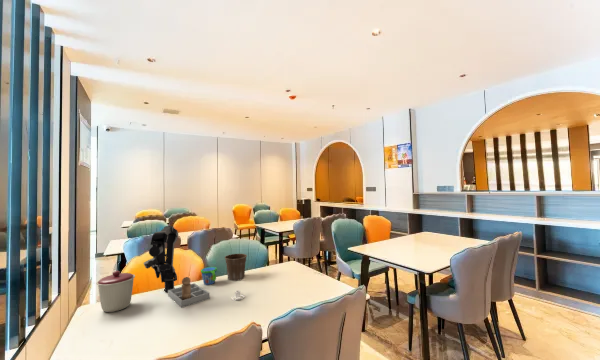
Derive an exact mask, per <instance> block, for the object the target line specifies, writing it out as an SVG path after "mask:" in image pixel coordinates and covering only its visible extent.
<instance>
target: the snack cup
mask: <svg viewBox="0 0 600 360" xmlns="http://www.w3.org/2000/svg"><path fill="white" fill-rule="evenodd" d="M217 270H218V268H217V267H216V266H208V267H204V268H202V269H201V270H200V273H201V277H202V281H203V284H204V285H206V286H207V285H208V286H210V285H212V284H215V283H216V280H217V277H216V275H217Z"/></svg>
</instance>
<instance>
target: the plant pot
mask: <svg viewBox="0 0 600 360" xmlns="http://www.w3.org/2000/svg"><path fill="white" fill-rule="evenodd" d="M247 257H248V255H247V254H245V253H232V254H228V255H226V256H224V260H225V265H226V273H227V275H226V276H227V280H228V281H229V280H230V281H239V280H240V279H241V280H242V279H244V278H245V276H246V275H245V274H246V261H247Z"/></svg>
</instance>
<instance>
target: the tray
mask: <svg viewBox="0 0 600 360" xmlns="http://www.w3.org/2000/svg"><path fill="white" fill-rule="evenodd" d="M190 284H191V298H189V299H186V300H182V286H179V287H174V288H175V289H171V290H168V292H167V296H168V297H169V298H170V299H171V300H172V301H173V302H174V301H175V302H174V303H176V305H178V306H179V307H180V308H181V309H182V308H185V307H188V306H192V305H195V304H197V303H201V302H203V301H206V300H210V298H211V297H210V292H209V291H207V290H205V289H204V288H202V287H201V286H199V285H198V284H196V283H195V282H194V283H190Z"/></svg>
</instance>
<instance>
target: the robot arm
mask: <svg viewBox="0 0 600 360" xmlns="http://www.w3.org/2000/svg"><path fill="white" fill-rule="evenodd" d="M178 238H179V232H178V229H176V228H175V227H173V226H172V225H167V226H164V227H163V228H162V229H161V230H160V231H155V232H154V233H153V235H152V236H151V241H150V246H151V247H150V248H149V250H148V254H149V256H151V257H152V258H150V259H148V260H146V261H144V262H143V266H144V267H145V269H150V268H152V269H153V270H154V274H155V276H156V279H159V278H160V280H161V283H164V291H165V293H168V290H171V289H175V288H176V287H175V282H176V281H178V275H177V272H176V269H175V267H174V252H175V244H176V242H177V241H178ZM164 291H163V292H164Z"/></svg>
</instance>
